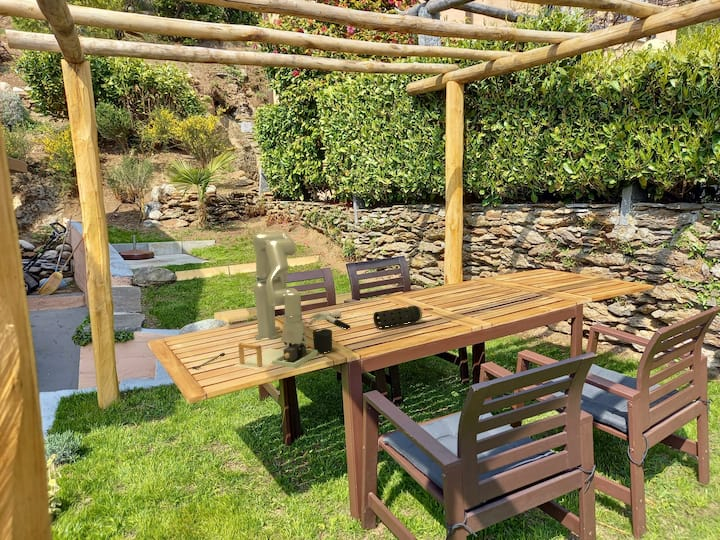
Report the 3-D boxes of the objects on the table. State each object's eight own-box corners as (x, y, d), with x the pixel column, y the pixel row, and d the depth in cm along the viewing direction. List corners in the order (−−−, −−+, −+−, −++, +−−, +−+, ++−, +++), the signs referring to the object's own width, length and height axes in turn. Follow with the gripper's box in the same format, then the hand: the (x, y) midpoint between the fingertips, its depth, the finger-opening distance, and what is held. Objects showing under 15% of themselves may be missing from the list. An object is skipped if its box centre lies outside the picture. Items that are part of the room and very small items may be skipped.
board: (268, 349, 236) (268, 348, 236) (291, 353, 230) (291, 351, 230) (233, 367, 213) (233, 365, 213) (258, 371, 207) (258, 369, 207)
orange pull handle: (242, 362, 216) (241, 342, 215) (262, 365, 211) (261, 345, 210) (239, 363, 214) (238, 343, 213) (259, 366, 210) (258, 346, 208)
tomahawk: (203, 372, 210) (203, 370, 210) (191, 369, 213) (191, 367, 212) (233, 357, 229) (233, 354, 229) (222, 354, 232) (222, 352, 231)
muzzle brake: (373, 327, 272) (372, 309, 270) (414, 320, 284) (413, 303, 282) (381, 331, 263) (380, 313, 262) (423, 324, 276) (422, 306, 274)
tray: (296, 352, 231) (296, 347, 231) (317, 355, 226) (317, 350, 226) (272, 365, 213) (272, 360, 213) (294, 369, 208) (294, 363, 208)
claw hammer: (362, 320, 272) (337, 309, 297) (328, 327, 261) (305, 314, 286) (362, 329, 273) (337, 317, 298) (328, 336, 262) (305, 323, 287)
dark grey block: (299, 351, 227) (299, 341, 226) (307, 352, 225) (307, 342, 224) (282, 360, 214) (281, 350, 213) (290, 362, 212) (290, 351, 211)
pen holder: (316, 348, 237) (315, 328, 235) (334, 348, 235) (333, 329, 234) (311, 354, 228) (310, 334, 226) (330, 354, 226) (329, 334, 225)
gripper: (273, 318, 217) (275, 356, 220) (304, 321, 210) (306, 361, 212) (282, 314, 224) (284, 351, 226) (313, 317, 216) (315, 356, 219)
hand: (295, 356), depth 219 cm, fingers closed on dark grey block, 4 cm apart
